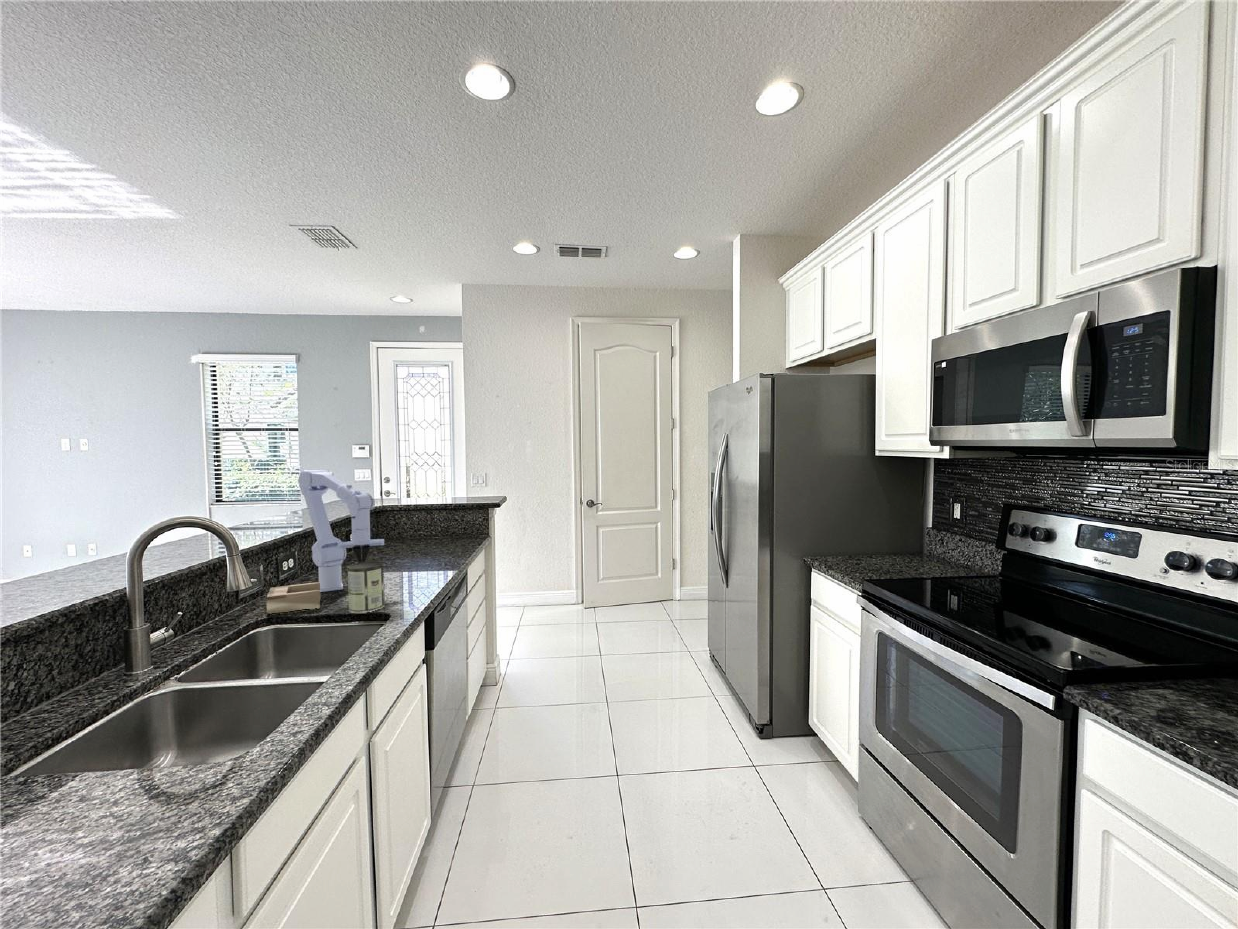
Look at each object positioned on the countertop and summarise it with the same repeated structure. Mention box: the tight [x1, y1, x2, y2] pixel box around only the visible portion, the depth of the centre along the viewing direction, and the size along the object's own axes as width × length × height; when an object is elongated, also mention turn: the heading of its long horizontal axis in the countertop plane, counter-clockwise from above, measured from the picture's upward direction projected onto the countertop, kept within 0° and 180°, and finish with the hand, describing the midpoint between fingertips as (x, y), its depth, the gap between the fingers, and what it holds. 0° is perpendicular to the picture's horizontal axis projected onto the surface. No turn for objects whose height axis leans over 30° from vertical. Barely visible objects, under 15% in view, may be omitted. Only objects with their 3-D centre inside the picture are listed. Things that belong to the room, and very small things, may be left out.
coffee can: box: [346, 560, 385, 614], centre depth 165 cm, size 10×10×14 cm
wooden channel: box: [266, 581, 321, 614], centre depth 168 cm, size 13×14×6 cm
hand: (361, 567), depth 182 cm, fingers closed
